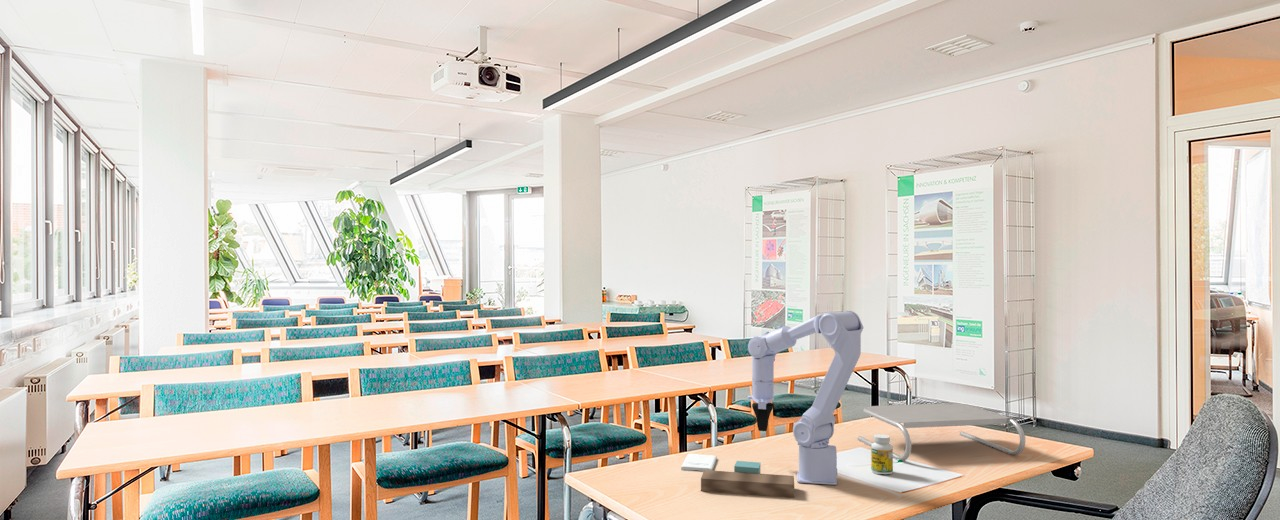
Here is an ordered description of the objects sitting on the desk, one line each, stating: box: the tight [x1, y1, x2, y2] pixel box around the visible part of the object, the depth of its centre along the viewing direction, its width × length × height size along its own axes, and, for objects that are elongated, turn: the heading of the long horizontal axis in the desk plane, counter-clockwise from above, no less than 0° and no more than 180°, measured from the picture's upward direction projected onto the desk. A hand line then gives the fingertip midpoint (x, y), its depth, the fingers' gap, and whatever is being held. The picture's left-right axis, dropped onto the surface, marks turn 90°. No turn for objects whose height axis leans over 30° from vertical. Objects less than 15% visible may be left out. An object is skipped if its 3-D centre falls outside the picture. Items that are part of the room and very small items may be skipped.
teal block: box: [733, 460, 761, 474], centre depth 178 cm, size 6×5×4 cm
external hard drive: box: [680, 453, 718, 472], centre depth 192 cm, size 2×8×12 cm
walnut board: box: [700, 470, 795, 498], centre depth 171 cm, size 22×7×3 cm, turn 79°
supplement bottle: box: [870, 433, 894, 475], centre depth 186 cm, size 5×5×10 cm
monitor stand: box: [857, 402, 1026, 462], centre depth 209 cm, size 37×28×11 cm
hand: (762, 430), depth 192 cm, fingers closed
